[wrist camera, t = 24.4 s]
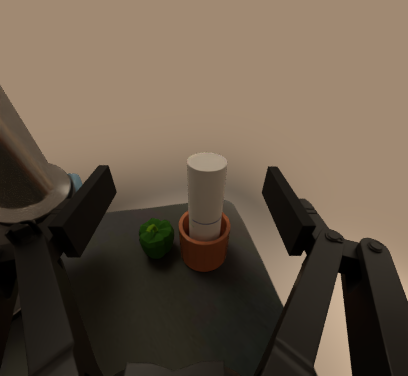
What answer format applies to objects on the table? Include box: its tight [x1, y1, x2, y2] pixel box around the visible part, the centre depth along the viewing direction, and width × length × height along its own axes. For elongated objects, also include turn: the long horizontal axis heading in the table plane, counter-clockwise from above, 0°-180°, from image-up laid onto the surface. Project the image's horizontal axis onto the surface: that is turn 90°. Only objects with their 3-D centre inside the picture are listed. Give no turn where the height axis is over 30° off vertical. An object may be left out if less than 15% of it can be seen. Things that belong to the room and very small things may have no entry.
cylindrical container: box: [187, 152, 227, 242], centre depth 42 cm, size 7×7×25 cm
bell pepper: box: [139, 218, 174, 259], centre depth 47 cm, size 8×8×10 cm
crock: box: [179, 211, 230, 272], centre depth 47 cm, size 12×12×10 cm
